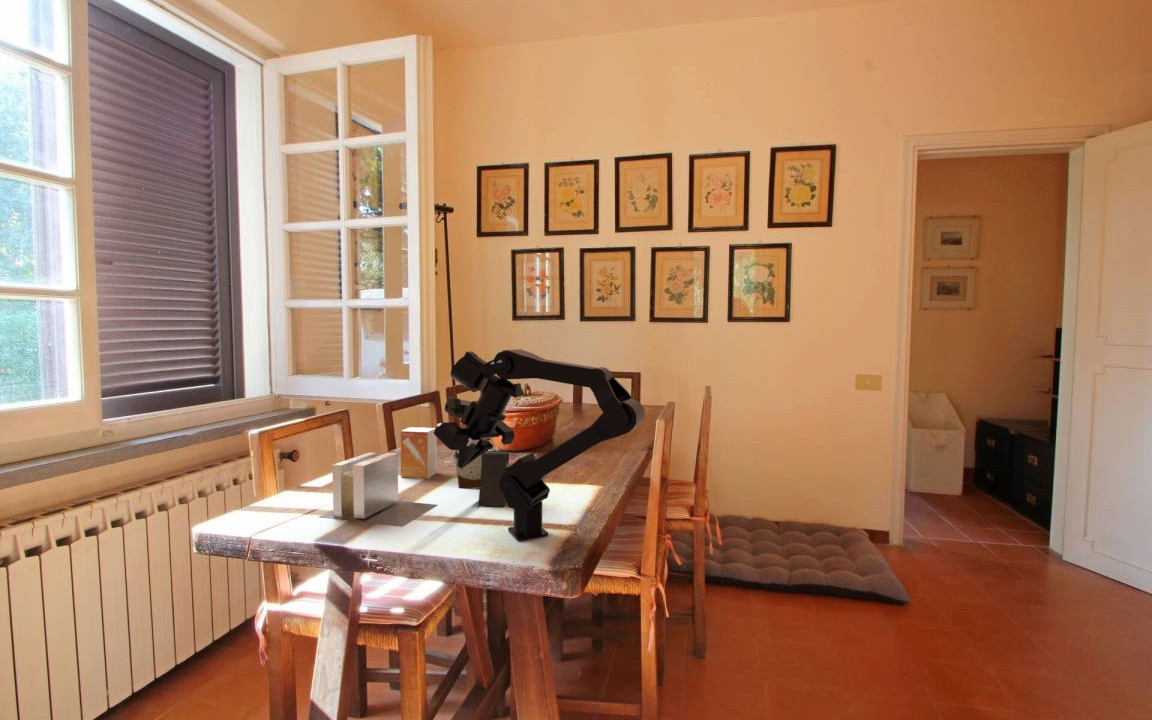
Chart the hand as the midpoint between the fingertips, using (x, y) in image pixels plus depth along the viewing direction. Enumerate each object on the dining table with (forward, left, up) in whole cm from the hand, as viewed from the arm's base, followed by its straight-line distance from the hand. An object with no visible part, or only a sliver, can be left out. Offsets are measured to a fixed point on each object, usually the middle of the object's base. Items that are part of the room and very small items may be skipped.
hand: (459, 466), depth 114 cm
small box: (+42, +2, -12) cm, 44 cm away
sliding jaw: (+11, +16, -10) cm, 22 cm away
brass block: (+12, +18, -10) cm, 24 cm away
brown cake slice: (+26, -10, -12) cm, 31 cm away
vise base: (+10, +15, -12) cm, 22 cm away
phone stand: (+11, -11, -12) cm, 20 cm away
